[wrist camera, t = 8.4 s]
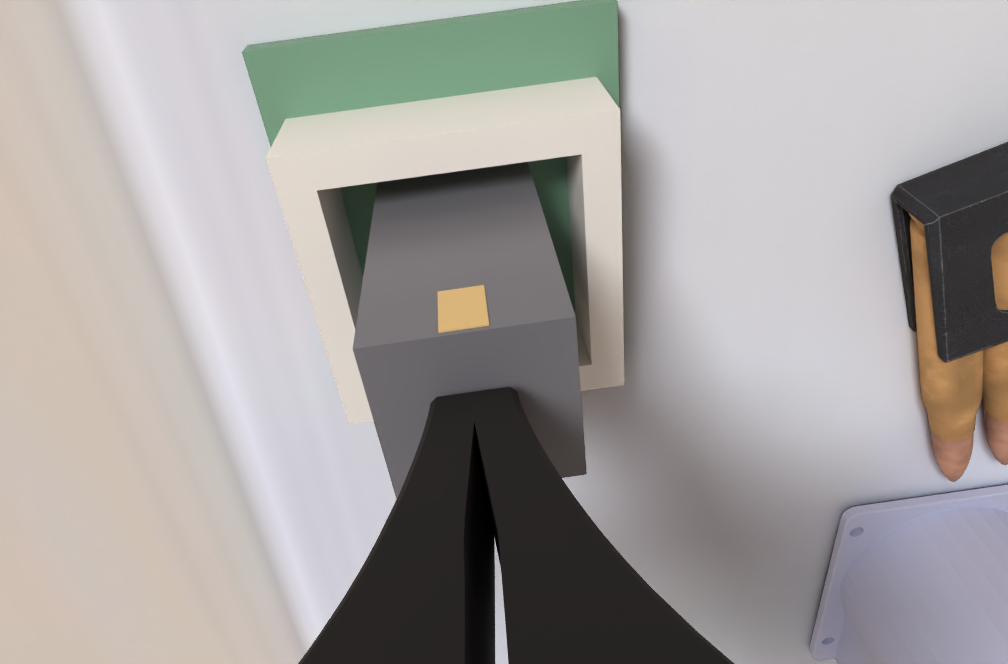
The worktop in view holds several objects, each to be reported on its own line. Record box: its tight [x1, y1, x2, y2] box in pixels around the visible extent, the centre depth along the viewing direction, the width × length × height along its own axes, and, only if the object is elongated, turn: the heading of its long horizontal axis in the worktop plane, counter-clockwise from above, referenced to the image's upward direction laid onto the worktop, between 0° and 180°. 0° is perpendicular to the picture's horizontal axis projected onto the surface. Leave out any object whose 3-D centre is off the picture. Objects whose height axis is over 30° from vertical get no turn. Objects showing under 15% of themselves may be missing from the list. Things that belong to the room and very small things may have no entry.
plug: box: [353, 162, 586, 498], centre depth 15 cm, size 4×4×7 cm
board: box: [242, 0, 624, 424], centre depth 17 cm, size 10×8×3 cm
